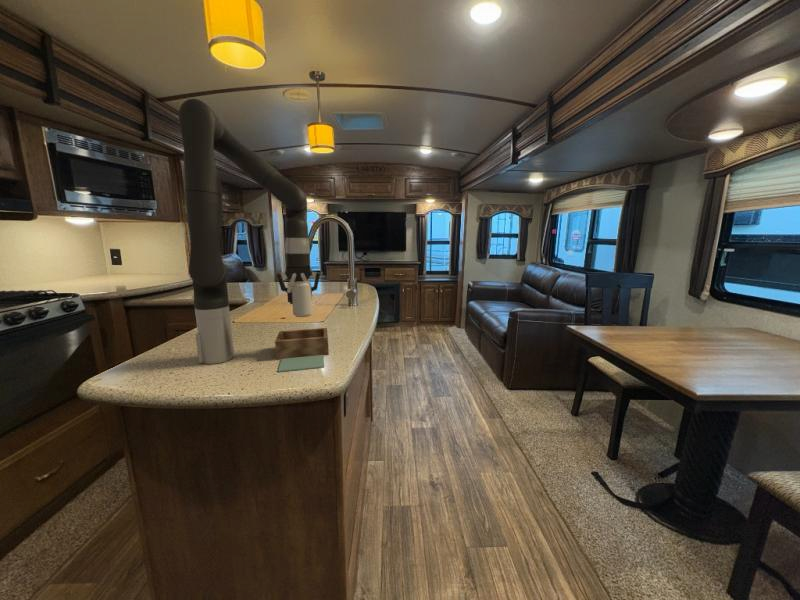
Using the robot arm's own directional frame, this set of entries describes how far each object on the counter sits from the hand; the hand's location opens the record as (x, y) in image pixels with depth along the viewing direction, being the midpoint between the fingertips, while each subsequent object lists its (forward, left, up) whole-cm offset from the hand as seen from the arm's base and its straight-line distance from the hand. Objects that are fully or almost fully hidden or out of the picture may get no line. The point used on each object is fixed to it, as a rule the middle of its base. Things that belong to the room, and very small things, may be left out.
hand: (300, 303), depth 103 cm
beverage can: (+1, 0, -5) cm, 5 cm away
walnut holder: (0, 0, -17) cm, 17 cm away
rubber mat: (0, -12, -17) cm, 21 cm away
